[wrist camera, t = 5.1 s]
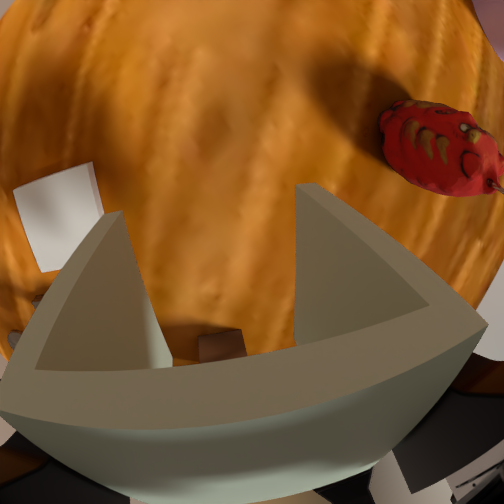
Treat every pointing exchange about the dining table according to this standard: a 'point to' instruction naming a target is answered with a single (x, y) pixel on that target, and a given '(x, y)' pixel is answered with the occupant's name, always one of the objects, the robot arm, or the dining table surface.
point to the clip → (492, 22)
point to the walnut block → (221, 346)
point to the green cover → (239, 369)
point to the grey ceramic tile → (59, 213)
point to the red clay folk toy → (440, 149)
